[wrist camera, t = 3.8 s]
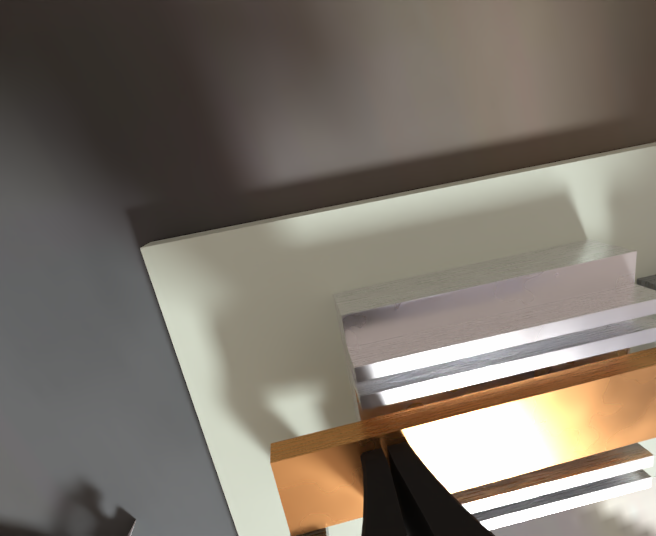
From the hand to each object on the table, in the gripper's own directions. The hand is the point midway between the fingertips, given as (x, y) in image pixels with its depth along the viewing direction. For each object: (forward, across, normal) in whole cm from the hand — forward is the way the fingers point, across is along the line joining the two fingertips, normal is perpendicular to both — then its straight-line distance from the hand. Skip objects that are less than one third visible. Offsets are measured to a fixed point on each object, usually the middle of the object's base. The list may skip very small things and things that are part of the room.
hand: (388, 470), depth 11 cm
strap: (+1, -5, 0) cm, 5 cm away
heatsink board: (+4, -5, 0) cm, 6 cm away
